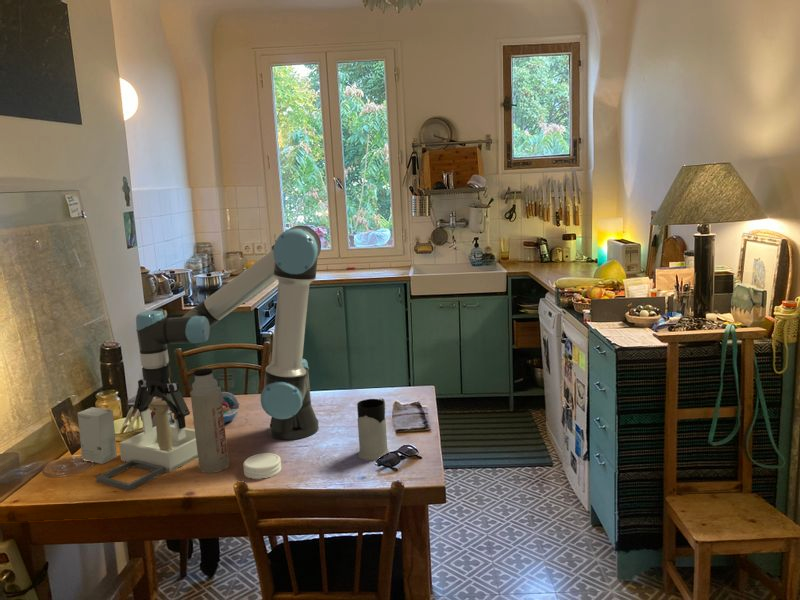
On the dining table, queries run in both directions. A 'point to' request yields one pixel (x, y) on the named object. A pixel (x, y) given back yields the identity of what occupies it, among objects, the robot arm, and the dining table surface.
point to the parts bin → (149, 451)
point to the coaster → (262, 466)
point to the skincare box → (97, 435)
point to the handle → (162, 424)
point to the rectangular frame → (155, 472)
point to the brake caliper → (171, 421)
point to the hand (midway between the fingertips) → (164, 435)
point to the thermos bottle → (209, 422)
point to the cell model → (229, 406)
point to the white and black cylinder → (372, 429)
